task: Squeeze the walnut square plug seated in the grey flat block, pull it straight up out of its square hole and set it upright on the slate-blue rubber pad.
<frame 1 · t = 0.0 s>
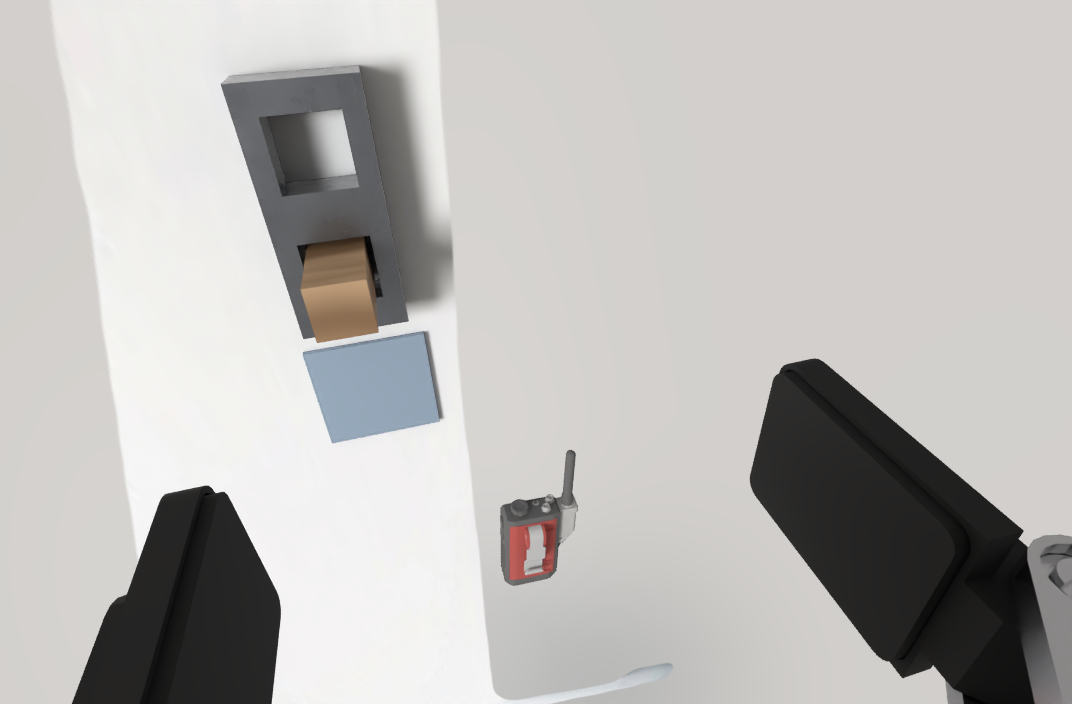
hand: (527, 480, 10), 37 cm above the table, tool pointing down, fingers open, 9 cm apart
pad: (376, 388, 52), on the table
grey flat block: (329, 205, 42), on the table
plug: (342, 255, 45), resting in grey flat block
walkie-talkie: (534, 509, 68), on the table
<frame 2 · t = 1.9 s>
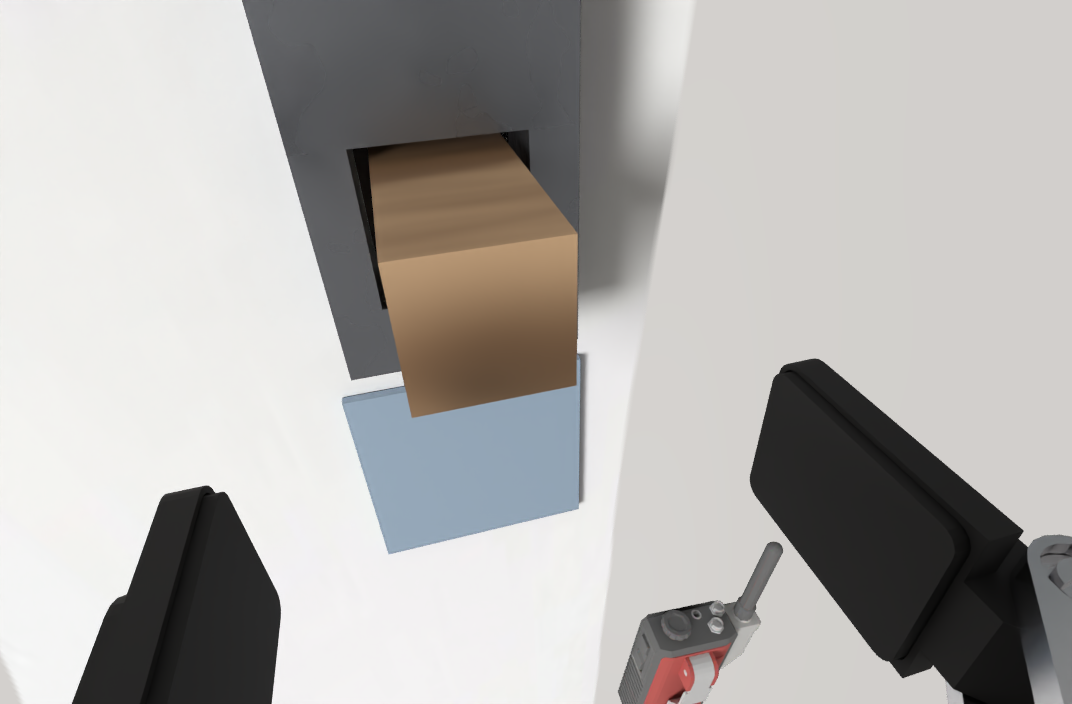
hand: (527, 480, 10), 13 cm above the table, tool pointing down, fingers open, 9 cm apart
pad: (475, 457, 27), on the table
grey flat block: (420, 60, 17), on the table
plug: (438, 190, 20), resting in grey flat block
walkie-talkie: (684, 618, 43), on the table
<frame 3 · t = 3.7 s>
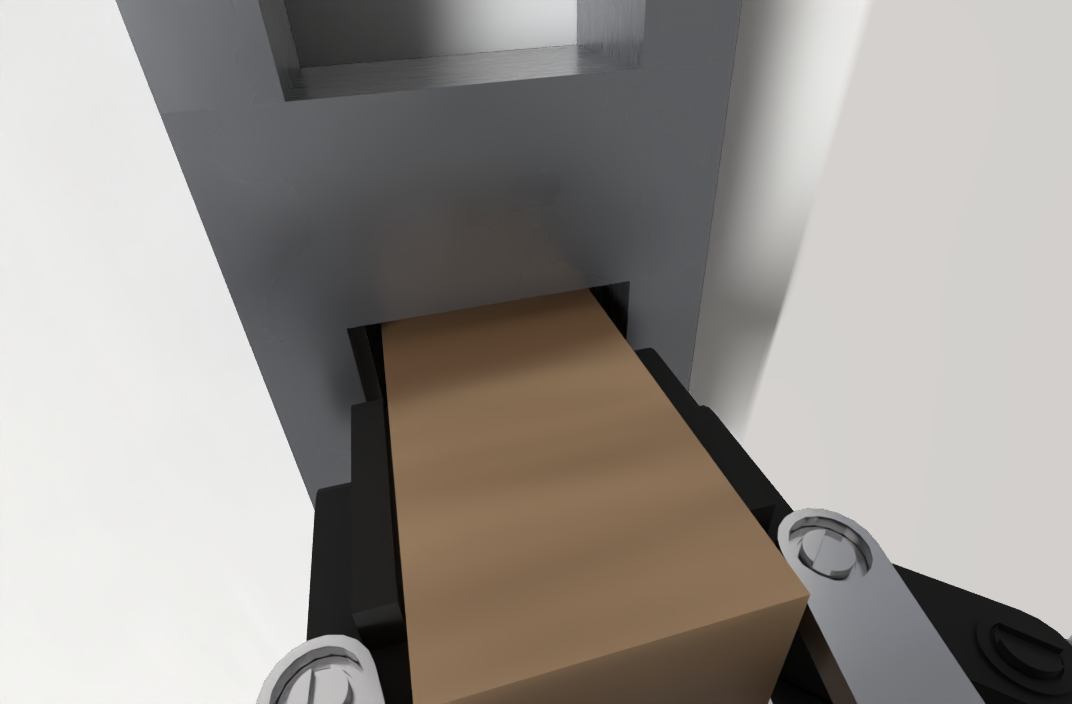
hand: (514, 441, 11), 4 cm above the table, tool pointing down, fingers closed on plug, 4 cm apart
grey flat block: (458, 167, 12), on the table
plug: (478, 334, 14), resting in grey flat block, touching gripper
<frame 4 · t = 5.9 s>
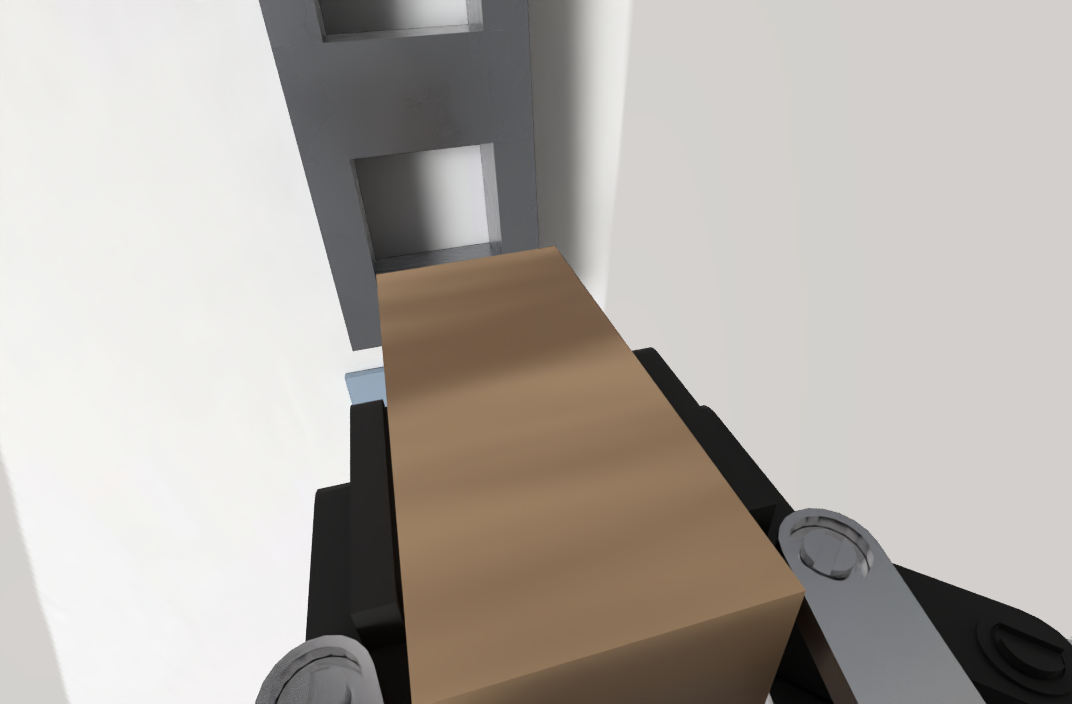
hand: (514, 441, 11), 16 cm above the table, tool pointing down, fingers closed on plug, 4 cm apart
pad: (461, 431, 31), on the table
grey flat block: (408, 90, 22), on the table
plug: (478, 335, 14), point 12 cm above the table, touching gripper
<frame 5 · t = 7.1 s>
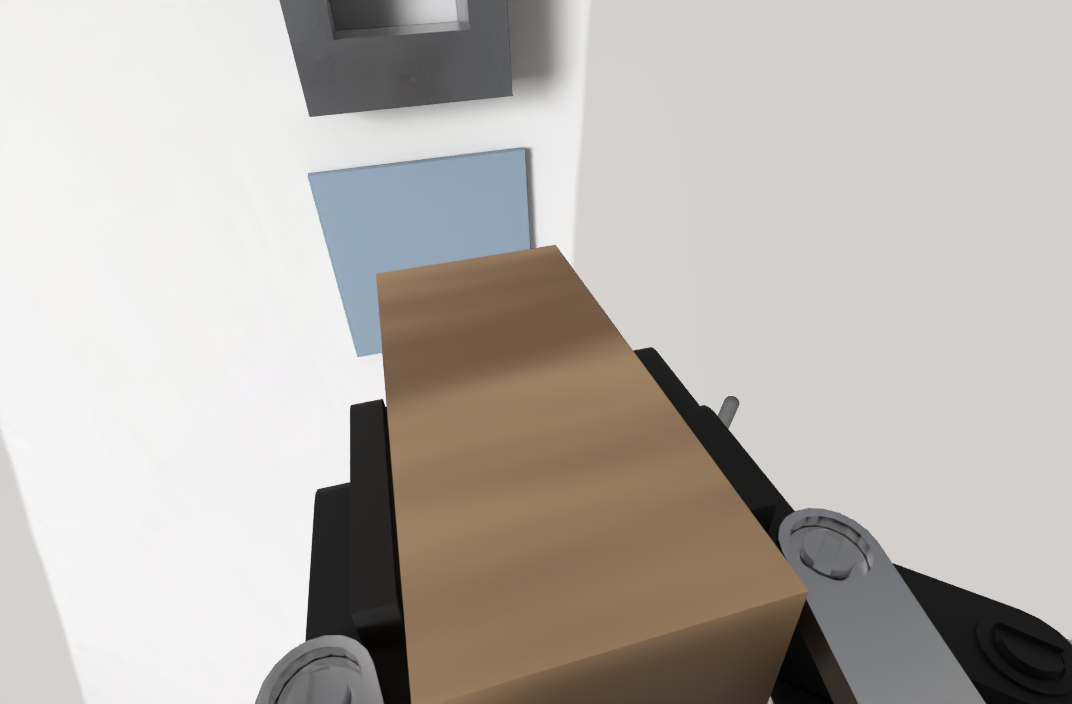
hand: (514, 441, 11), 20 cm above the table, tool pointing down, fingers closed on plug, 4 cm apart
pad: (434, 257, 30), on the table
plug: (478, 335, 14), point 16 cm above the table, touching gripper
walkie-talkie: (644, 485, 46), on the table
when the fingers open (6 cm above the table, at t = 10.3 s): plug drops 1 cm, resting on pad.
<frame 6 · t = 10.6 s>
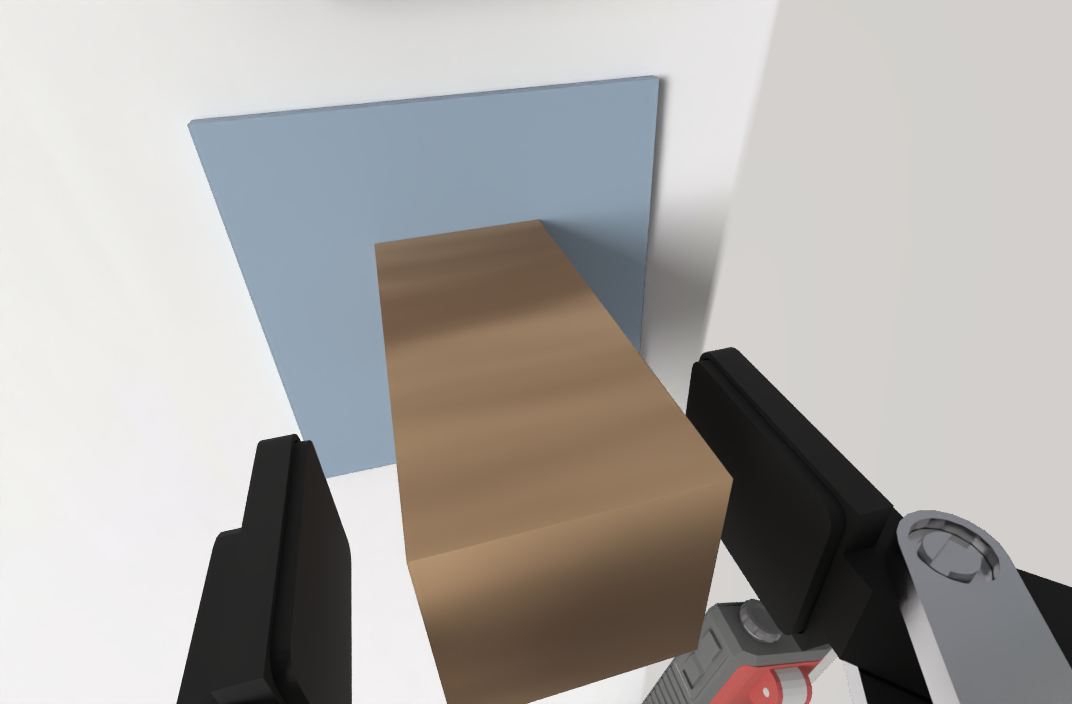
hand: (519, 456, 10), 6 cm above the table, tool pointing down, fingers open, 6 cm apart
pad: (464, 297, 15), on the table
plug: (468, 303, 15), resting on pad
walkie-talkie: (749, 622, 31), on the table
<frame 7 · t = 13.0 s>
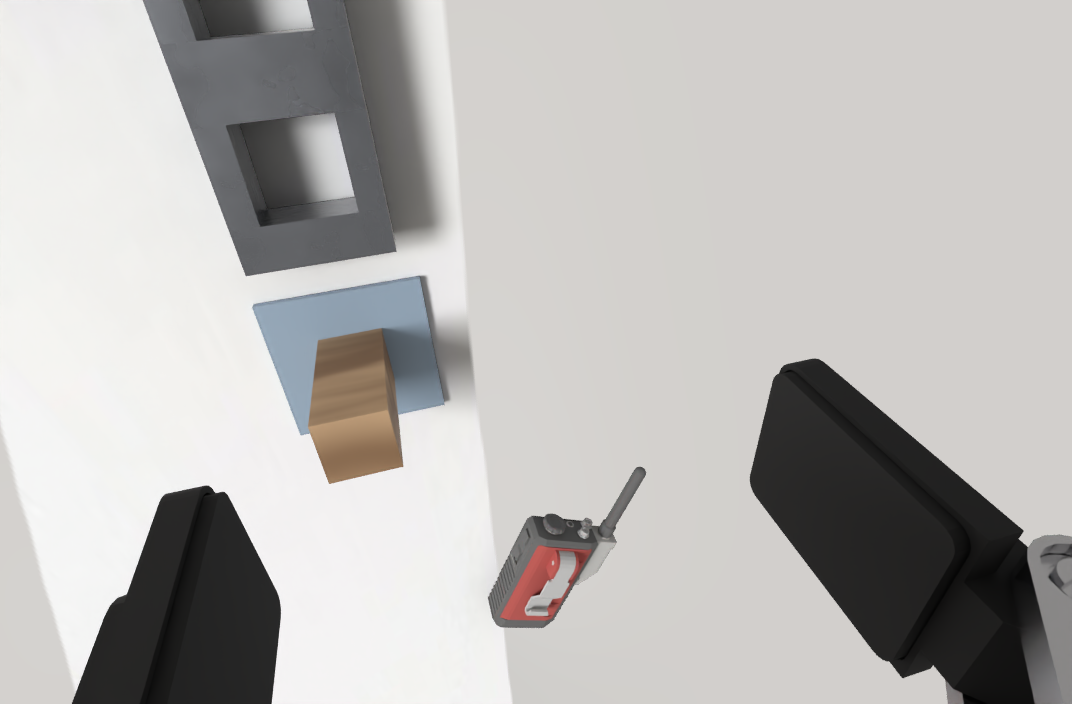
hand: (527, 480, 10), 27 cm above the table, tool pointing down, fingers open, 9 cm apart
pad: (357, 357, 38), on the table
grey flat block: (278, 77, 29), on the table
plug: (357, 360, 38), resting on pad
walkie-talkie: (558, 534, 54), on the table
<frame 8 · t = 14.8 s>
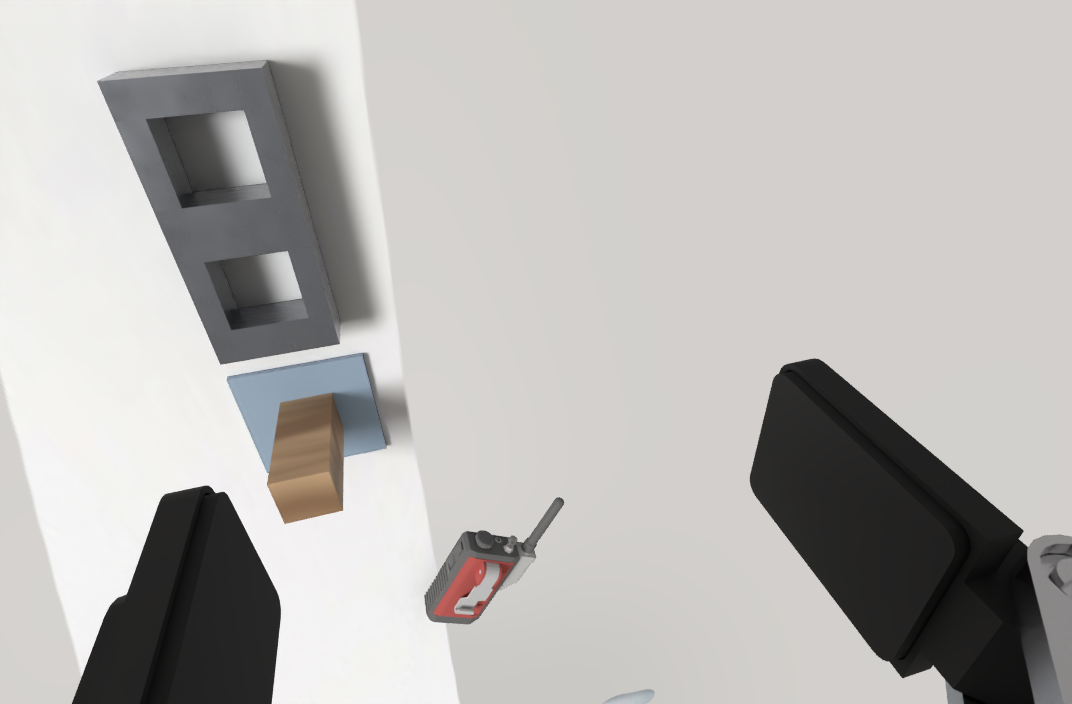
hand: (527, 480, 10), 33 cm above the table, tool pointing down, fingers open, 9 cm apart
pad: (313, 413, 48), on the table
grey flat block: (245, 217, 38), on the table
plug: (313, 416, 47), resting on pad
walkie-talkie: (488, 547, 64), on the table
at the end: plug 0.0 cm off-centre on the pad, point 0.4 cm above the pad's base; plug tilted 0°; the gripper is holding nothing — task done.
